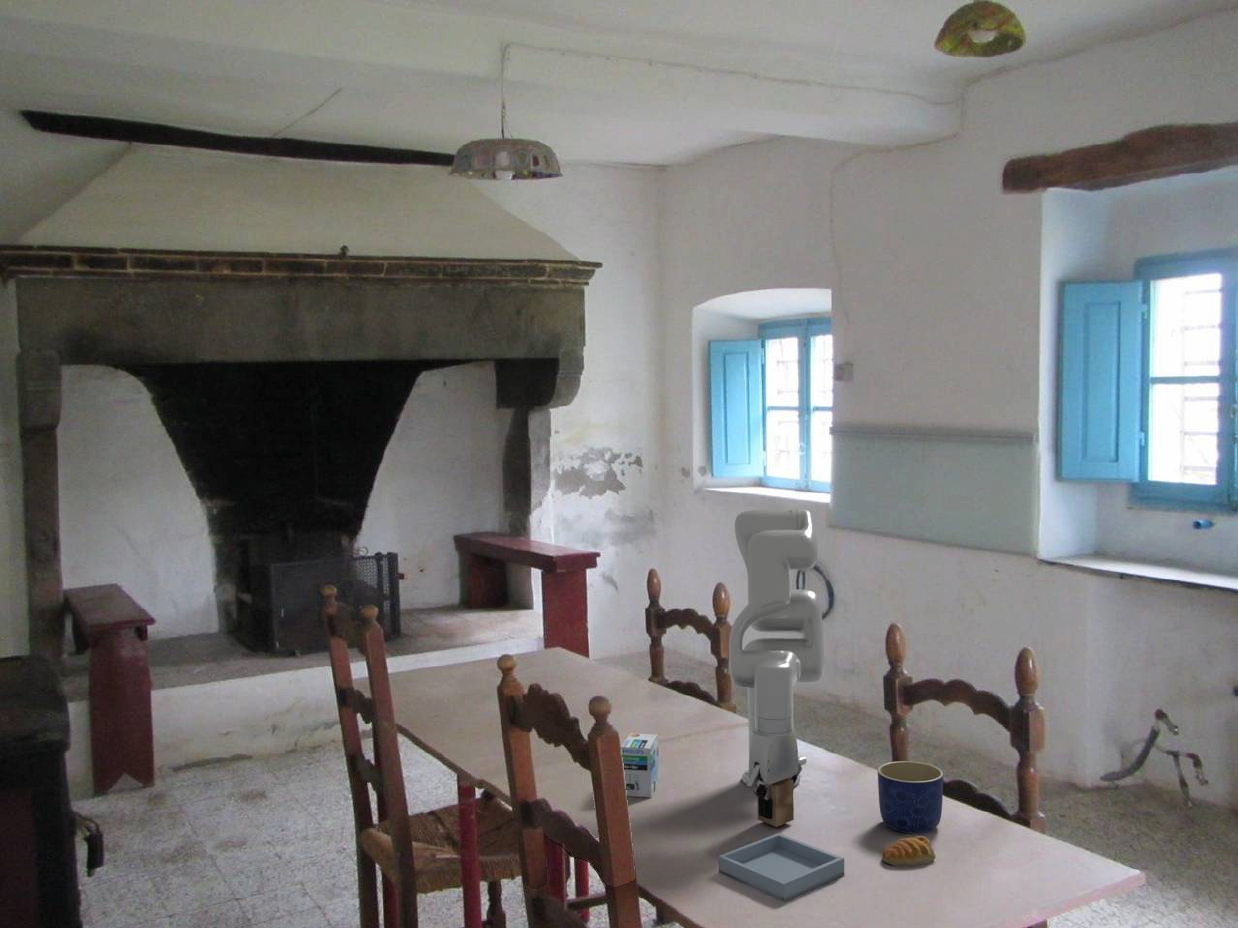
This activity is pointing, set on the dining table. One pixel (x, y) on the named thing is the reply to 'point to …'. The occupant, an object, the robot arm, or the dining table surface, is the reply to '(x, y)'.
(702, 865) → the dining table surface
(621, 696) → the dining table surface
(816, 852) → the tray
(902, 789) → the planter
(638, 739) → the light bulb box
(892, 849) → the pastry
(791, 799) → the walnut block
